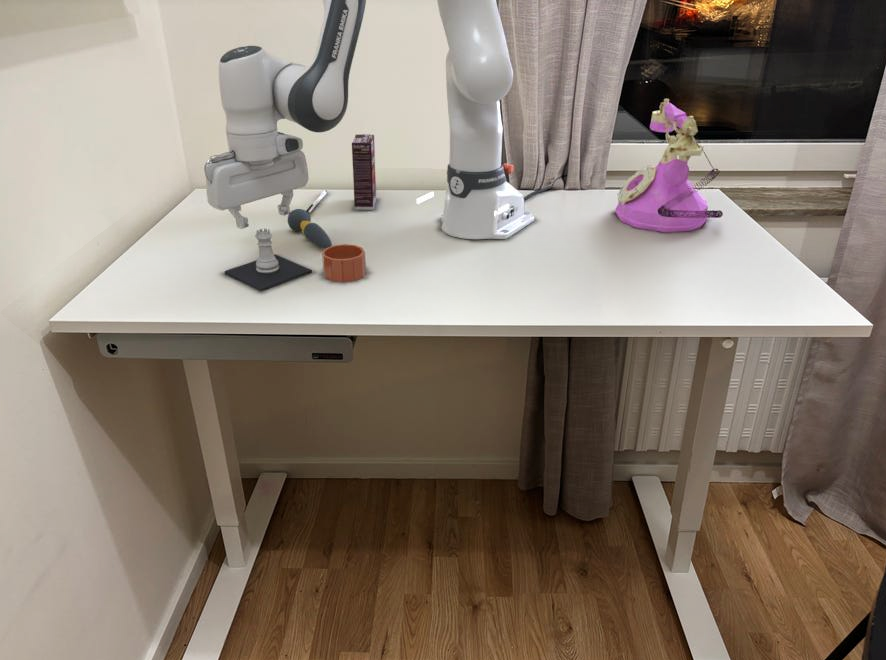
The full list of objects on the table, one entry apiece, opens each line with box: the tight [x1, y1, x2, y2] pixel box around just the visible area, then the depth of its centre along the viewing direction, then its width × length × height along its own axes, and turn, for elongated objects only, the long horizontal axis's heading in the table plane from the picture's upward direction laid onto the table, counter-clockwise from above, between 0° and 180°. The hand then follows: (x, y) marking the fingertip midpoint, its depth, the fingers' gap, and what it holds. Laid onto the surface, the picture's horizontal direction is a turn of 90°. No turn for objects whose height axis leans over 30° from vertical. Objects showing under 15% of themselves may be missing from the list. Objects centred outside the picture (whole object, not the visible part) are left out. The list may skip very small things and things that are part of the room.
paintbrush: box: [287, 208, 333, 250], centre depth 160 cm, size 20×5×5 cm, turn 38°
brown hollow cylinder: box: [321, 243, 367, 283], centre depth 143 cm, size 8×8×4 cm
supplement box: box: [351, 133, 377, 211], centre depth 177 cm, size 9×5×16 cm, turn 179°
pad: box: [224, 253, 313, 292], centre depth 145 cm, size 12×12×1 cm
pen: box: [305, 189, 328, 215], centre depth 181 cm, size 1×19×1 cm, turn 172°
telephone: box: [615, 98, 724, 233], centre depth 162 cm, size 36×22×25 cm, turn 178°
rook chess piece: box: [254, 228, 279, 274], centre depth 143 cm, size 4×4×8 cm
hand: (264, 220), depth 139 cm, fingers open, 8 cm apart
